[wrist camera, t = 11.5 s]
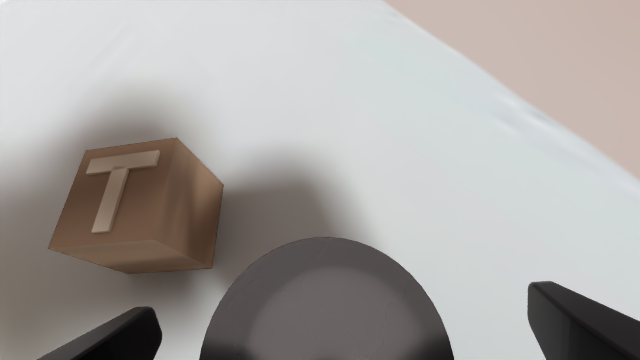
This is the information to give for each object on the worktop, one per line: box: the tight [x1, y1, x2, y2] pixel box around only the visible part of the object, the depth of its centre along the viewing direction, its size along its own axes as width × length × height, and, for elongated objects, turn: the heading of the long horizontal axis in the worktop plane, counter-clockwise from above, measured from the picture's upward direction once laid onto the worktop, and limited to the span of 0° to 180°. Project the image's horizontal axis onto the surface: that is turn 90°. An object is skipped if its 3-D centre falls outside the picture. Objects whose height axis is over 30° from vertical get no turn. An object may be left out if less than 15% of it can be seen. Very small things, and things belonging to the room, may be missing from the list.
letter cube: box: [48, 138, 224, 274], centre depth 17 cm, size 5×5×5 cm
